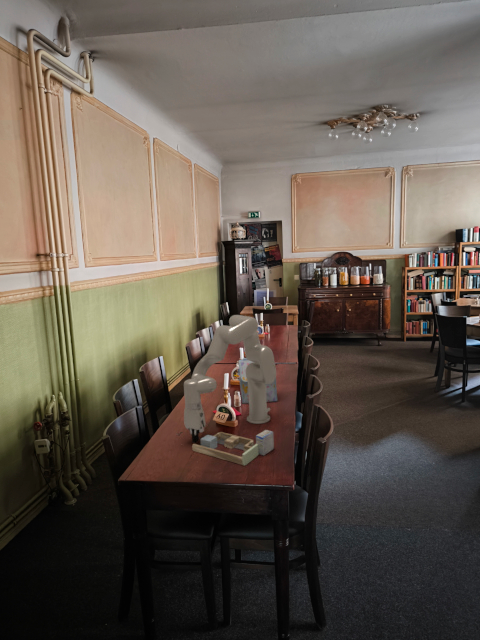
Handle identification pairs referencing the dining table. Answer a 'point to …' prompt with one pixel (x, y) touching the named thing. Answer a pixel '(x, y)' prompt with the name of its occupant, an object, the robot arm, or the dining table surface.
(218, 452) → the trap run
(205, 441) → the slate block
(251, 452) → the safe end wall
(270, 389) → the lunch bag
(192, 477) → the dining table surface
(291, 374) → the dining table surface
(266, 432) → the medicine box
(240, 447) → the pads
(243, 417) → the dining table surface
